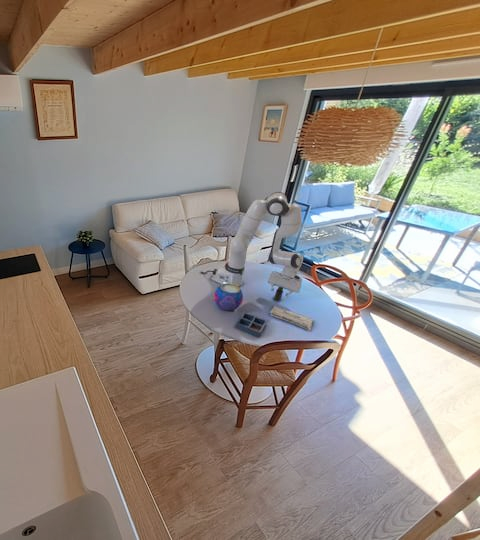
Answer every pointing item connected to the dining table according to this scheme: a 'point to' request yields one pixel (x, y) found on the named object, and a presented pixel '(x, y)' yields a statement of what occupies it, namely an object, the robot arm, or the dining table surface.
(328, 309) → the dining table surface
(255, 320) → the grid
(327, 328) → the dining table surface
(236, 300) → the ceramic pot
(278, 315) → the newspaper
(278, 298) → the dark brown cylinder
